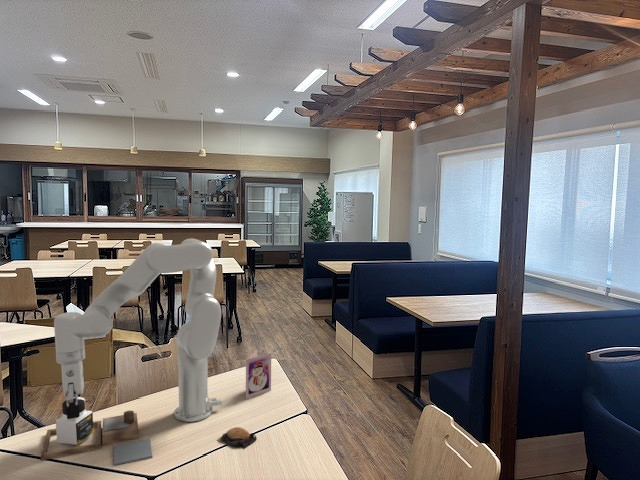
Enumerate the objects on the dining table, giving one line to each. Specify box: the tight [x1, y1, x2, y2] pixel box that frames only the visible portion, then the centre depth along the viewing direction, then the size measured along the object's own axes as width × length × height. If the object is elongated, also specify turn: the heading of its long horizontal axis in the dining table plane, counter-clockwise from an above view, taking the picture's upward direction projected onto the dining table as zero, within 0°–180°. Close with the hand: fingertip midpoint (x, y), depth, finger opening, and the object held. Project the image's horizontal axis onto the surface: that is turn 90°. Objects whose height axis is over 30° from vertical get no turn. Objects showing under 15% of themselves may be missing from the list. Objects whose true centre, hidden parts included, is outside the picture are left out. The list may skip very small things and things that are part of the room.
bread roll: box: [216, 426, 258, 449], centre depth 139 cm, size 11×8×4 cm
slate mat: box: [113, 437, 154, 466], centre depth 131 cm, size 10×10×1 cm
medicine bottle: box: [55, 396, 95, 446], centre depth 136 cm, size 7×7×12 cm
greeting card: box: [245, 349, 272, 400], centre depth 171 cm, size 11×7×15 cm, turn 132°
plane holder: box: [40, 410, 140, 461], centre depth 138 cm, size 26×15×6 cm, turn 115°
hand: (74, 412), depth 135 cm, fingers closed on medicine bottle, 6 cm apart
